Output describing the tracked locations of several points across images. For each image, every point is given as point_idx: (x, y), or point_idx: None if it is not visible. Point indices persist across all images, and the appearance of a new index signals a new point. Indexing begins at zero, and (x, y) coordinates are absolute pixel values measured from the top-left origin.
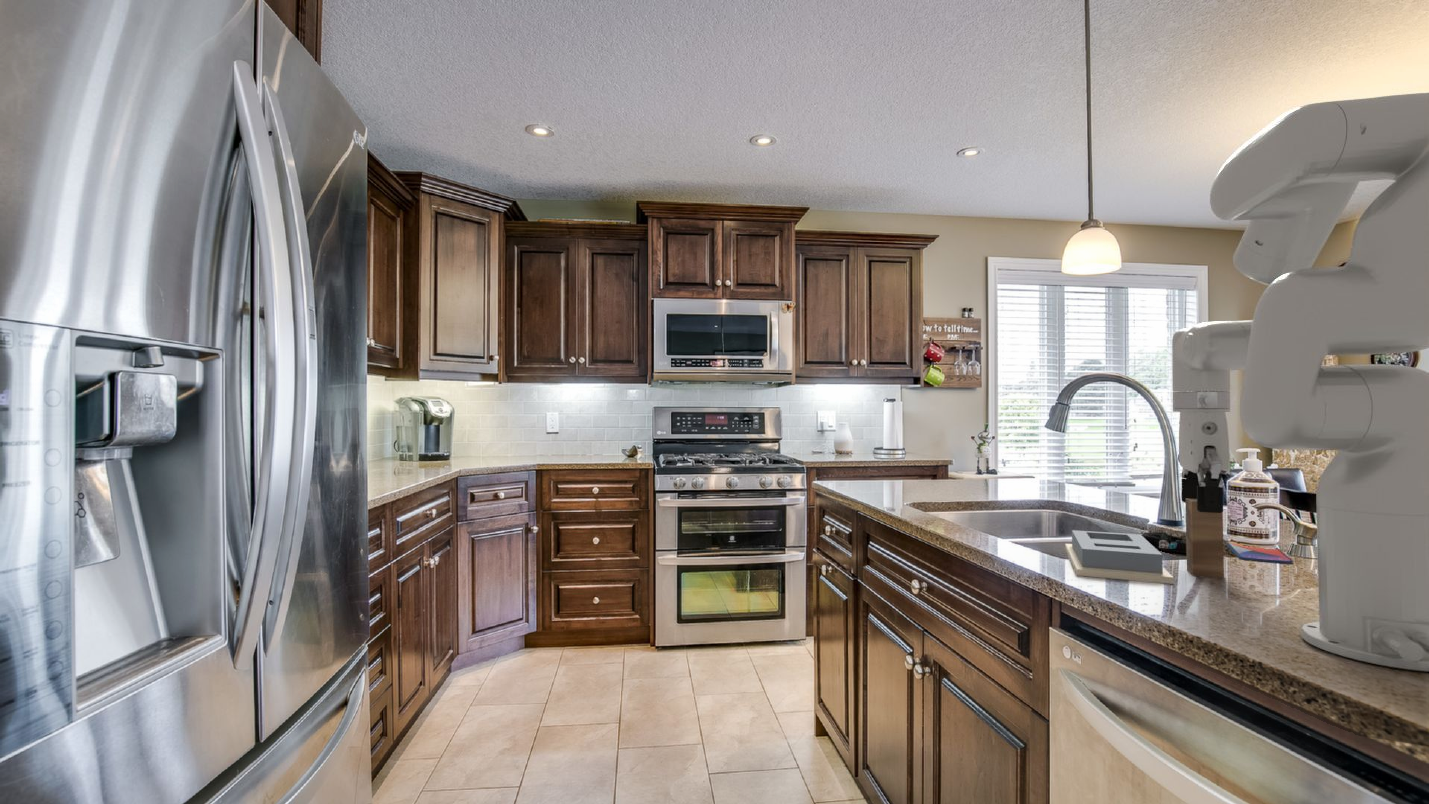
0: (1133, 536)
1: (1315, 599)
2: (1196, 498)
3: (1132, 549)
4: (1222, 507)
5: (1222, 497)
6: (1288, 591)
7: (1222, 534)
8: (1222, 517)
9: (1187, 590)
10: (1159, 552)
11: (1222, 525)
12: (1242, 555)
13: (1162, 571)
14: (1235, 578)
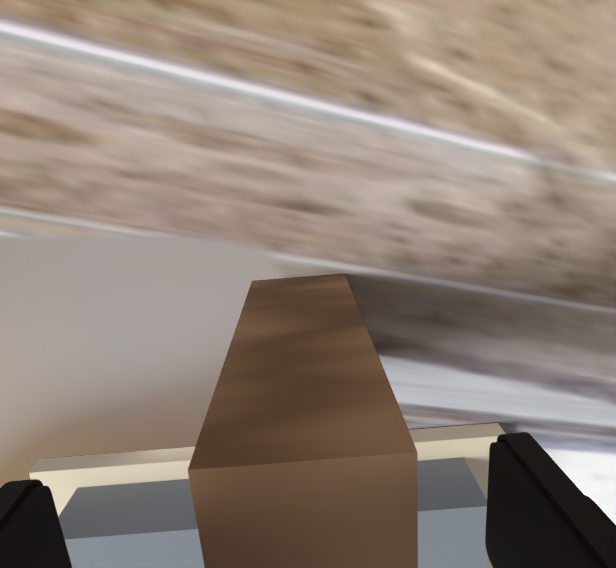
0: (118, 565)
1: (564, 50)
2: (45, 551)
3: None
4: (545, 454)
5: (600, 519)
6: (469, 108)
7: (369, 339)
8: (390, 386)
9: (568, 397)
10: (450, 510)
11: (379, 361)
12: None
13: (465, 462)
14: (324, 237)
